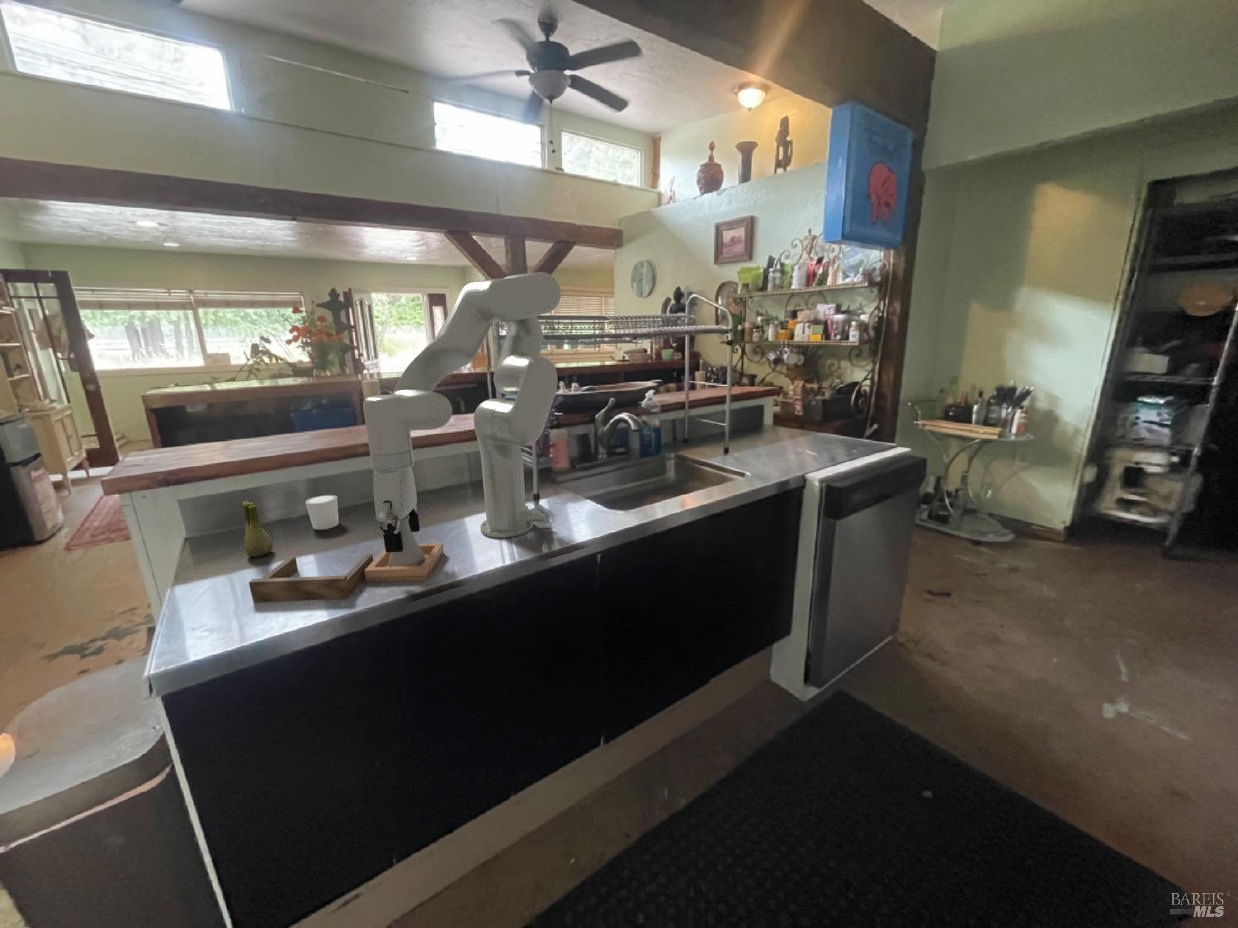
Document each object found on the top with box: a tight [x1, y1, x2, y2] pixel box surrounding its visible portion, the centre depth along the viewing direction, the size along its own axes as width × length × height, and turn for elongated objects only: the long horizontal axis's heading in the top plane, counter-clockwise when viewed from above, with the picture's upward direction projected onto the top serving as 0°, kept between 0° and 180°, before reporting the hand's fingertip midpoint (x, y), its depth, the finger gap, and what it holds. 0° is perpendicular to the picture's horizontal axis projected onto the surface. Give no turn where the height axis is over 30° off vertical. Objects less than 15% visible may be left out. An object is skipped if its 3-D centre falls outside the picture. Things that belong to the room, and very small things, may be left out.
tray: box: [364, 542, 445, 583], centre depth 102 cm, size 12×12×2 cm
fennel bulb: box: [241, 501, 274, 558], centre depth 107 cm, size 6×5×12 cm
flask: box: [388, 515, 425, 567], centre depth 100 cm, size 7×7×10 cm
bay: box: [248, 553, 374, 603], centre depth 95 cm, size 16×12×4 cm
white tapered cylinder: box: [305, 494, 340, 531], centre depth 123 cm, size 7×7×7 cm
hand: (403, 541), depth 100 cm, fingers open, 9 cm apart
